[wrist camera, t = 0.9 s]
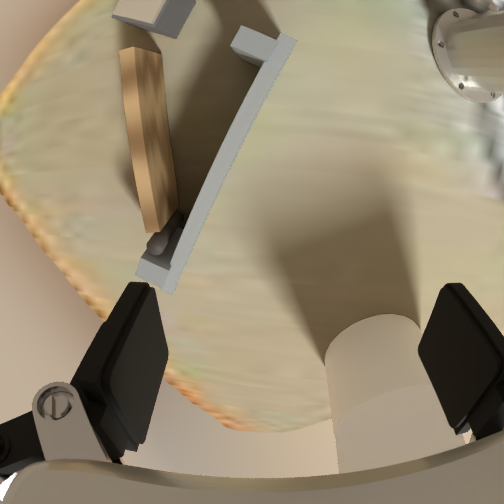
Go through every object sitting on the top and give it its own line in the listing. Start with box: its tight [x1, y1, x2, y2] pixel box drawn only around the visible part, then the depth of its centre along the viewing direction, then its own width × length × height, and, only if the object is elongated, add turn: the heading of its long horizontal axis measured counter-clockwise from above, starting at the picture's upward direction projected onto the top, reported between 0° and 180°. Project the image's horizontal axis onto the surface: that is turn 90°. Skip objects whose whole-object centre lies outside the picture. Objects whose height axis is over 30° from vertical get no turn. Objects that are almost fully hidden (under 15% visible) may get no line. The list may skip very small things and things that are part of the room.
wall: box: [135, 25, 298, 295], centre depth 29 cm, size 28×4×9 cm, turn 154°
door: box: [119, 47, 183, 255], centre depth 29 cm, size 20×2×8 cm, turn 4°
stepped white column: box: [324, 314, 466, 474], centre depth 35 cm, size 17×17×28 cm
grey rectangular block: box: [112, 0, 196, 39], centre depth 22 cm, size 5×5×8 cm
